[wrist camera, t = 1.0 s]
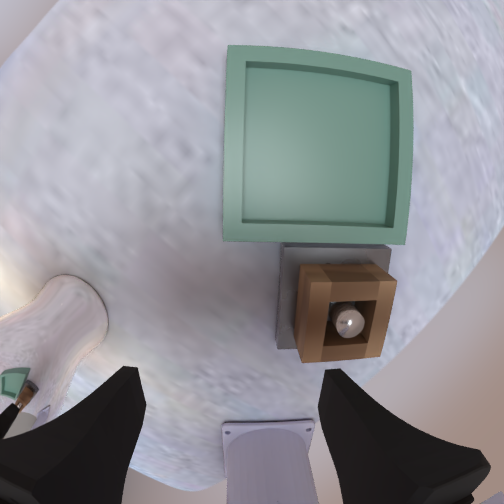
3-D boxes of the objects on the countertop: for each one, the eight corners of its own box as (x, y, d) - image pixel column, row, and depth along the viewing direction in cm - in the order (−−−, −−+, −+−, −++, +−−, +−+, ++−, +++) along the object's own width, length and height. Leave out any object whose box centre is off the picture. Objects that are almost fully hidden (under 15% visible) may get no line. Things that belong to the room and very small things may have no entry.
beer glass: (128, 346, 21) (45, 518, 6) (61, 354, 21) (-30, 483, 6) (93, 258, 19) (-68, 395, 4) (27, 278, 19) (-106, 382, 4)
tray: (390, 237, 19) (404, 244, 17) (224, 233, 19) (222, 241, 17) (396, 77, 16) (411, 70, 14) (228, 57, 16) (227, 45, 14)
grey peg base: (367, 335, 21) (391, 369, 17) (275, 339, 21) (283, 379, 17) (383, 244, 19) (416, 264, 15) (281, 242, 19) (293, 264, 15)
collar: (363, 332, 20) (380, 356, 17) (293, 336, 19) (301, 363, 17) (376, 264, 18) (397, 281, 15) (300, 263, 18) (311, 282, 15)
